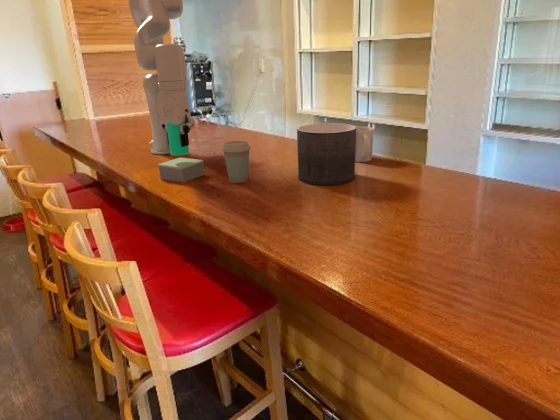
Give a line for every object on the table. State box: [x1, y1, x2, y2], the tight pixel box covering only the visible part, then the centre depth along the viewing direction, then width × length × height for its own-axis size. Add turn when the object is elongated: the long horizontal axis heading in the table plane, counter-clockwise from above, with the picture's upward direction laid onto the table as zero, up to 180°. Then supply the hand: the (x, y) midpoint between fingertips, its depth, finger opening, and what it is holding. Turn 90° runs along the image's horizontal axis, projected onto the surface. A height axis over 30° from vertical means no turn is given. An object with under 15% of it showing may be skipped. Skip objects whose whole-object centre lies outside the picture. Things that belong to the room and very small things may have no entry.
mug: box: [355, 126, 374, 163], centre depth 152 cm, size 10×12×11 cm
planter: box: [296, 122, 357, 186], centre depth 130 cm, size 18×18×16 cm
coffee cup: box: [222, 140, 251, 184], centre depth 131 cm, size 8×8×12 cm
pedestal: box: [157, 157, 205, 184], centre depth 139 cm, size 10×10×5 cm
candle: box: [166, 121, 190, 157], centre depth 135 cm, size 6×6×12 cm
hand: (178, 144), depth 136 cm, fingers closed on candle, 4 cm apart
